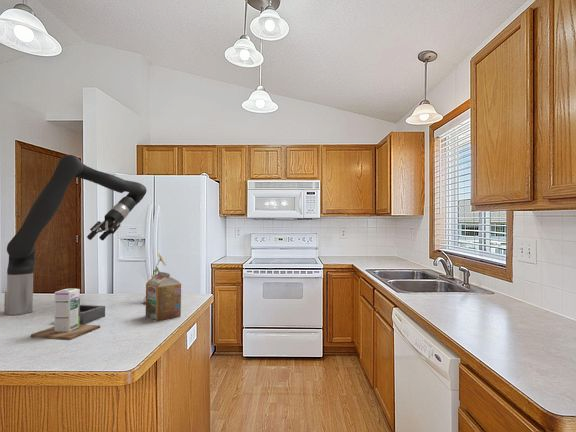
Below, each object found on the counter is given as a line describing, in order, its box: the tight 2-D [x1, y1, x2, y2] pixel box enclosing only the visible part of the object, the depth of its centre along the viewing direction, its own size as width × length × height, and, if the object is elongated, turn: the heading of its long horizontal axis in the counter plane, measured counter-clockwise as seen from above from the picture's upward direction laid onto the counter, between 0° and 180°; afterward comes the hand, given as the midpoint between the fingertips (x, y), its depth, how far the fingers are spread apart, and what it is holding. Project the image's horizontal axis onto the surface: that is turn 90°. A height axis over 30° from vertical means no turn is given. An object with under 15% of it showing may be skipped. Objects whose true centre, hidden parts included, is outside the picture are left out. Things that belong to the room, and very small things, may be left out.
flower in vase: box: [142, 252, 167, 303], centre depth 173 cm, size 13×11×25 cm
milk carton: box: [145, 270, 182, 323], centre depth 146 cm, size 11×11×19 cm
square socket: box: [80, 304, 106, 325], centre depth 140 cm, size 12×12×4 cm
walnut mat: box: [30, 324, 101, 341], centre depth 124 cm, size 16×14×1 cm
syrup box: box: [54, 287, 81, 332], centre depth 125 cm, size 6×6×14 cm
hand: (94, 238), depth 154 cm, fingers open, 8 cm apart
